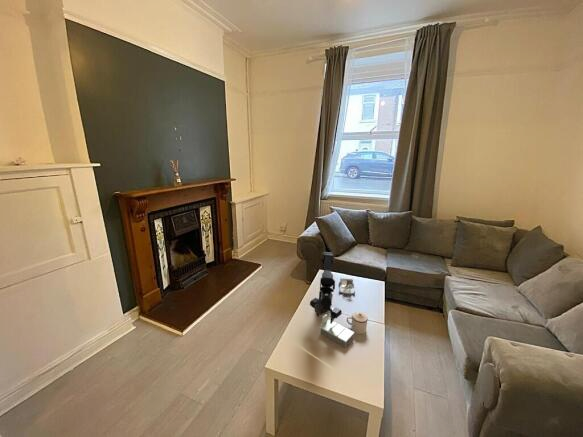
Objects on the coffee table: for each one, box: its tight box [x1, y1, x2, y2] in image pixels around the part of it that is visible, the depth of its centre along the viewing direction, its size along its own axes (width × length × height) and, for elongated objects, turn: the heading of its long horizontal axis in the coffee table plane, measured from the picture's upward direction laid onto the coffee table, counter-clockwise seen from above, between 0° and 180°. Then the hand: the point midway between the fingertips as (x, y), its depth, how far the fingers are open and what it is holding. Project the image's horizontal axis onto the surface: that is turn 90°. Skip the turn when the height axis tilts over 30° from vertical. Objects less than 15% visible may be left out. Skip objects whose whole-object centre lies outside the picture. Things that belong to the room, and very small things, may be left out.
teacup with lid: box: [346, 311, 369, 335], centre depth 147 cm, size 12×9×12 cm
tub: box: [320, 328, 355, 349], centre depth 141 cm, size 16×9×4 cm, turn 48°
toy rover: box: [338, 277, 356, 297], centre depth 190 cm, size 18×10×12 cm
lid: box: [319, 314, 355, 342], centre depth 140 cm, size 18×10×5 cm, turn 48°
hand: (324, 320), depth 146 cm, fingers open, 9 cm apart
